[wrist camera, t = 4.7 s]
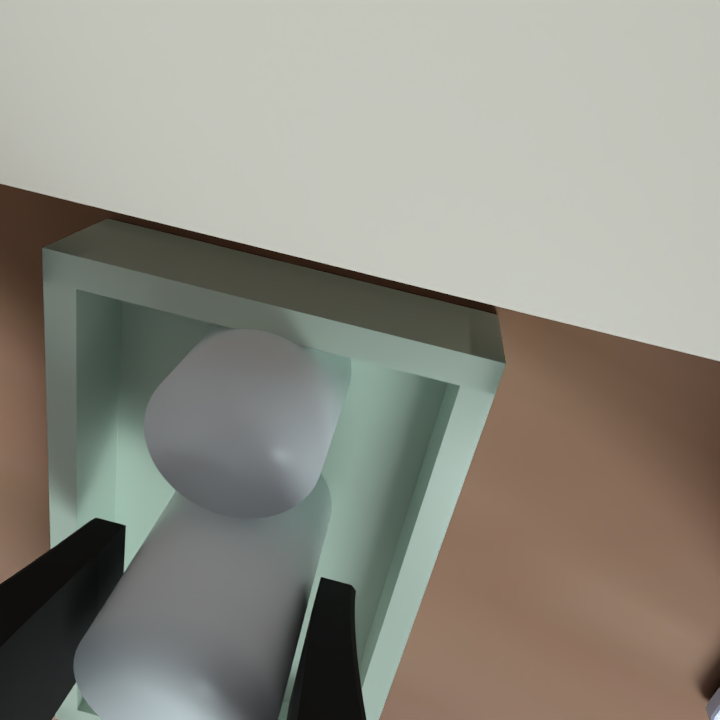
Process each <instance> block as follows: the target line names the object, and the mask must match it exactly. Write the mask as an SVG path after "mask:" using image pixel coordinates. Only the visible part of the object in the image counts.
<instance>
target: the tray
mask: <svg viewBox="0 0 720 720" xmlns="http://www.w3.org/2000/svg"><path fill="white" fill-rule="evenodd" d="M42 260H43V295H44V331H45V366H46V402H47V438H48V473H49V509H50V544H51V549H52V548H53V547H55V546H56V545H57V544H59V543H60V542H61V541H63V540H64V539H66V538H67V537H68V536H70V535H71V534H72V533H74V532H75V531H77V530H78V529H79V528H81V527H82V526H83V525H85V524H86V523H88V522H89V521H90V520H92V519H94V518H100V519H104V520H107V521H111V522H115V523H119V524H123V525H126V534H125V556H124V572H125V571H126V569H127V567H128V566H129V564H130V563H131V561H132V560H133V558H134V556H135V555H136V553H137V552H138V550H139V549H140V547H141V545H142V544H143V542H144V541H145V539H146V537H147V536H148V534H149V533H150V531H151V530H152V528H153V526H154V525H155V523H156V522H157V520H158V518H159V517H160V515H161V514H162V512H163V511H164V509H165V507H166V506H167V504H168V503H169V501H170V500H171V498H172V496H173V495H174V493H175V492H176V491H178V492H179V493H180V494H181V495H182V496H184V497H185V498H187V499H188V500H190V501H191V502H193V503H195V504H197V505H198V506H200V507H202V508H205V509H207V510H209V511H212V512H214V513H218V514H221V515H225V516H229V517H234V518H244V519H256V518H265V517H270V516H274V515H278V514H280V513H283V512H285V511H287V510H289V509H291V508H293V507H295V506H296V505H298V504H299V503H300V502H302V501H303V500H304V499H305V498H306V497H307V496H308V495H309V494H310V492H311V491H312V490H313V488H314V487H315V485H316V483H317V481H318V479H319V477H320V474H322V475H323V477H324V479H325V481H326V482H327V485H328V487H329V490H330V494H331V500H332V511H331V517H330V520H329V524H328V528H327V532H326V536H325V540H324V544H323V548H322V551H321V555H320V559H319V563H318V567H317V571H316V575H315V578H314V582H313V586H312V590H311V594H310V598H309V602H308V606H307V609H306V613H305V617H304V621H303V625H302V629H301V633H300V637H299V640H298V644H297V648H296V652H295V656H294V660H293V664H292V668H291V671H290V675H289V679H288V683H287V687H286V691H285V695H284V698H283V702H282V706H281V710H280V714H279V718H278V720H286V719H287V713H288V707H289V702H290V698H291V694H292V690H293V685H294V681H295V677H296V673H297V669H298V665H299V661H300V657H301V653H302V649H303V645H304V641H305V637H306V633H307V628H308V624H309V620H310V616H311V612H312V608H313V604H314V601H315V597H316V593H317V589H318V586H319V582H320V578H321V577H323V578H327V579H331V580H335V581H338V582H342V583H346V584H350V585H352V586H353V587H354V589H355V590H356V596H355V633H356V646H357V657H358V667H359V674H360V681H361V688H362V695H363V702H364V708H365V714H366V719H367V720H379V718H380V715H381V712H382V709H383V706H384V704H385V701H386V698H387V695H388V692H389V690H390V687H391V684H392V681H393V678H394V676H395V673H396V670H397V667H398V665H399V662H400V659H401V656H402V653H403V651H404V648H405V645H406V642H407V639H408V637H409V634H410V631H411V628H412V625H413V623H414V620H415V617H416V614H417V611H418V609H419V606H420V603H421V600H422V597H423V595H424V592H425V589H426V586H427V583H428V581H429V578H430V575H431V572H432V569H433V567H434V564H435V561H436V558H437V555H438V553H439V550H440V547H441V544H442V541H443V539H444V536H445V533H446V530H447V527H448V525H449V522H450V519H451V516H452V513H453V511H454V508H455V505H456V502H457V499H458V497H459V494H460V491H461V488H462V485H463V483H464V480H465V477H466V474H467V471H468V469H469V466H470V463H471V460H472V457H473V455H474V452H475V449H476V446H477V443H478V441H479V438H480V435H481V432H482V429H483V427H484V424H485V421H486V418H487V415H488V413H489V410H490V407H491V404H492V401H493V399H494V396H495V393H496V390H497V387H498V385H499V382H500V379H501V376H502V373H503V371H504V368H505V365H506V361H505V355H504V349H503V343H502V337H501V331H500V325H499V319H498V315H496V314H492V313H488V312H484V311H480V310H476V309H472V308H468V307H464V306H460V305H456V304H452V303H448V302H444V301H440V300H436V299H432V298H428V297H424V296H419V295H415V294H411V293H407V292H403V291H399V290H395V289H391V288H387V287H383V286H379V285H375V284H371V283H367V282H363V281H359V280H355V279H351V278H347V277H343V276H339V275H335V274H331V273H327V272H322V271H318V270H314V269H310V268H306V267H302V266H298V265H294V264H290V263H286V262H282V261H278V260H274V259H270V258H266V257H262V256H258V255H254V254H250V253H246V252H242V251H238V250H234V249H230V248H225V247H221V246H217V245H213V244H209V243H205V242H201V241H197V240H193V239H189V238H185V237H181V236H177V235H173V234H169V233H165V232H161V231H157V230H153V229H149V228H145V227H141V226H137V225H133V224H128V223H124V222H120V221H116V220H112V219H108V218H107V219H105V220H103V221H101V222H98V223H96V224H94V225H92V226H89V227H87V228H85V229H83V230H81V231H78V232H76V233H74V234H72V235H69V236H67V237H65V238H63V239H60V240H58V241H56V242H54V243H52V244H49V245H47V246H45V247H43V248H42ZM55 718H56V719H60V720H102V719H101V718H100V717H99V716H98V715H97V714H96V713H95V712H94V711H93V709H92V708H91V707H90V706H89V705H88V703H87V702H86V700H85V699H84V697H83V696H82V694H81V692H80V690H79V688H78V685H77V682H76V683H75V685H74V686H73V688H72V689H71V691H70V692H69V694H68V695H67V697H66V699H65V700H64V702H63V703H62V705H61V706H60V708H59V709H58V711H57V712H56V714H55Z"/></svg>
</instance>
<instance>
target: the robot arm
mask: <svg viewBox="0 0 720 720" xmlns="http://www.w3.org/2000/svg"><path fill="white" fill-rule="evenodd" d="M125 534H126V525H123V524H119V523H115V522H111V521H107V520H104V519H100V518H94V519H92V520H90V521H89V522H88V523H86V524H85V525H83V526H82V527H81V528H79V529H78V530H77V531H75V532H74V533H72V534H71V535H70V536H68V537H67V538H66V539H64V540H63V541H61V542H60V543H59V544H57V545H56V546H55V547H53V548H52V549H50V550H49V551H48V552H46V553H45V554H43V555H42V556H41V557H39V558H38V559H36V560H35V561H33V562H32V563H31V564H29V565H28V566H26V567H25V568H23V569H22V570H20V571H19V572H17V573H16V574H15V575H13V576H12V577H10V578H9V579H7V580H6V581H4V582H3V583H1V584H0V720H52V718H53V717H54V715H55V714H56V712H57V711H58V709H59V708H60V706H61V705H62V703H63V702H64V700H65V699H66V697H67V695H68V694H69V692H70V691H71V689H72V688H73V686H74V685H75V683H76V680H75V675H74V669H73V668H74V656H75V652H76V650H77V648H78V645H79V643H80V642H81V640H82V639H83V637H84V635H85V634H86V632H87V631H88V629H89V628H90V626H91V624H92V623H93V621H94V620H95V618H96V616H97V615H98V613H99V612H100V610H101V609H102V607H103V605H104V604H105V602H106V601H107V599H108V597H109V596H110V594H111V593H112V591H113V590H114V588H115V586H116V585H117V583H118V582H119V580H120V579H121V577H122V575H123V574H124V556H125ZM355 596H356V590H355V589H354V587H353V586H352V585H350V584H346V583H342V582H338V581H335V580H331V579H327V578H323V577H321V578H320V582H319V586H318V589H317V593H316V597H315V601H314V604H313V608H312V612H311V616H310V620H309V624H308V628H307V633H306V637H305V641H304V645H303V649H302V653H301V657H300V661H299V665H298V669H297V673H296V677H295V681H294V685H293V690H292V694H291V698H290V702H289V707H288V713H287V719H286V720H367V719H366V714H365V708H364V702H363V695H362V688H361V681H360V674H359V667H358V657H357V646H356V633H355ZM706 711H707V714H708V717H709V719H710V720H720V687H719V689H718V690H717V691H716V693H715V694H714V695H713V697H712V698H711V699H710V701H709V702H708V704H707V707H706Z"/></svg>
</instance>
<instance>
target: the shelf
mask: <svg viewBox="0 0 720 720" xmlns="http://www.w3.org/2000/svg"><path fill="white" fill-rule="evenodd" d="M0 184H4V185H8V186H12V187H16V188H20V189H24V190H28V191H32V192H36V193H40V194H44V195H48V196H52V197H57V198H61V199H65V200H69V201H73V202H77V203H81V204H85V205H89V206H93V207H97V208H101V209H105V210H109V211H113V212H117V213H121V214H125V215H129V216H133V217H138V218H142V219H146V220H150V221H154V222H158V223H162V224H166V225H170V226H174V227H178V228H182V229H186V230H190V231H194V232H198V233H202V234H206V235H210V236H214V237H219V238H223V239H227V240H231V241H235V242H239V243H243V244H247V245H251V246H255V247H259V248H263V249H267V250H271V251H275V252H279V253H283V254H287V255H291V256H295V257H300V258H304V259H308V260H312V261H316V262H320V263H324V264H328V265H332V266H336V267H340V268H344V269H348V270H352V271H356V272H360V273H364V274H368V275H372V276H376V277H381V278H385V279H389V280H393V281H397V282H401V283H405V284H409V285H413V286H417V287H421V288H425V289H429V290H433V291H437V292H441V293H445V294H449V295H453V296H457V297H462V298H466V299H470V300H474V301H478V302H482V303H486V304H490V305H494V306H498V307H502V308H506V309H510V310H514V311H518V312H522V313H526V314H530V315H534V316H538V317H543V318H547V319H551V320H555V321H559V322H563V323H567V324H571V325H575V326H579V327H583V328H587V329H591V330H595V331H599V332H603V333H607V334H611V335H615V336H619V337H624V338H628V339H632V340H636V341H640V342H644V343H648V344H652V345H656V346H660V347H664V348H668V349H672V350H676V351H680V352H684V353H688V354H692V355H696V356H700V357H705V358H709V359H713V360H717V361H720V0H0Z"/></svg>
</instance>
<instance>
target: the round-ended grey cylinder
mask: <svg viewBox="0 0 720 720" xmlns="http://www.w3.org/2000/svg"><path fill="white" fill-rule="evenodd" d="M331 511H332V500H331V494H330V490H329V487H328V485H327V482H326V481H325V479H324V477H323V475H322V474H320V477H319V479H318V481H317V483H316V485H315V487H314V488H313V490H312V491H311V492H310V494H309V495H308V496H307V497H306V498H305V499H304V500H303V501H302V502H300V503H299V504H298V505H296V506H295V507H293V508H291V509H289V510H287V511H285V512H283V513H280V514H278V515H274V516H270V517H265V518H256V519H244V518H234V517H229V516H225V515H221V514H218V513H214V512H212V511H209V510H207V509H205V508H202V507H200V506H198V505H197V504H195V503H193V502H191V501H190V500H188V499H187V498H185V497H184V496H182V495H181V494H180V493H179V492H178V491H176V492H175V493H174V495H173V496H172V498H171V500H170V501H169V503H168V504H167V506H166V507H165V509H164V511H163V512H162V514H161V515H160V517H159V518H158V520H157V522H156V523H155V525H154V526H153V528H152V530H151V531H150V533H149V534H148V536H147V537H146V539H145V541H144V542H143V544H142V545H141V547H140V549H139V550H138V552H137V553H136V555H135V556H134V558H133V560H132V561H131V563H130V564H129V566H128V567H127V569H126V571H125V572H124V574H123V575H122V577H121V579H120V580H119V582H118V583H117V585H116V586H115V588H114V590H113V591H112V593H111V594H110V596H109V597H108V599H107V601H106V602H105V604H104V605H103V607H102V609H101V610H100V612H99V613H98V615H97V616H96V618H95V620H94V621H93V623H92V624H91V626H90V628H89V629H88V631H87V632H86V634H85V635H84V637H83V639H82V640H81V642H80V643H79V645H78V648H77V650H76V652H75V656H74V668H73V669H74V675H75V680H76V682H77V685H78V688H79V690H80V692H81V694H82V696H83V697H84V699H85V700H86V702H87V703H88V705H89V706H90V707H91V708H92V709H93V711H94V712H95V713H96V714H97V715H98V716H99V717H100V718H101V719H102V720H278V718H279V714H280V710H281V706H282V702H283V698H284V695H285V691H286V687H287V683H288V679H289V675H290V671H291V668H292V664H293V660H294V656H295V652H296V648H297V644H298V640H299V637H300V633H301V629H302V625H303V621H304V617H305V613H306V609H307V606H308V602H309V598H310V594H311V590H312V586H313V582H314V578H315V575H316V571H317V567H318V563H319V559H320V555H321V551H322V548H323V544H324V540H325V536H326V532H327V528H328V524H329V520H330V517H331Z"/></svg>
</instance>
